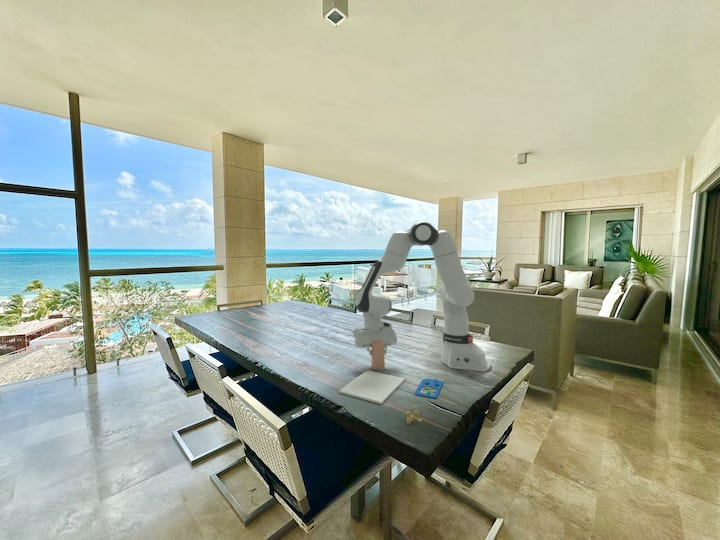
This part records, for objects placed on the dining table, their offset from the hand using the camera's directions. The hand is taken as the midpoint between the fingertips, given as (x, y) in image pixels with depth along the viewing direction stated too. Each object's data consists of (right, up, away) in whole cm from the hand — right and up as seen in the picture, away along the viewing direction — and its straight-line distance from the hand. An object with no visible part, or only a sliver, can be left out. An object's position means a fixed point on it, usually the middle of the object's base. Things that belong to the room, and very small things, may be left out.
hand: (378, 354), depth 135 cm
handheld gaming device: (+19, -8, -20) cm, 29 cm away
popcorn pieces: (+9, -10, -41) cm, 43 cm away
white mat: (-3, -8, -18) cm, 20 cm away
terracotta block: (0, -6, +1) cm, 6 cm away
